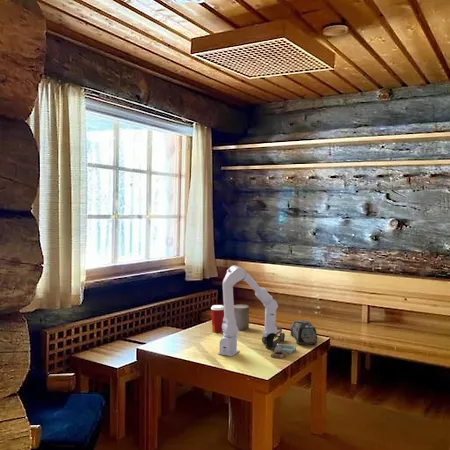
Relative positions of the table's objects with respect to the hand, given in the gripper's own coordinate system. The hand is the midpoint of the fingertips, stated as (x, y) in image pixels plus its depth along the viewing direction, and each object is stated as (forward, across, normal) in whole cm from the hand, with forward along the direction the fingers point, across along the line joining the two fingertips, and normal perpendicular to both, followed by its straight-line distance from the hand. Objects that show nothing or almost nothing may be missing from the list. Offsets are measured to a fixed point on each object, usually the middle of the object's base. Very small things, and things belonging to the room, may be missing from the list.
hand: (269, 347), depth 258 cm
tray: (+1, +2, -8) cm, 8 cm away
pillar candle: (+1, +30, +31) cm, 43 cm away
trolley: (+1, +14, +3) cm, 15 cm away
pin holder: (+1, -8, -8) cm, 11 cm away
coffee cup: (+2, +17, +40) cm, 43 cm away
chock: (+1, +4, 0) cm, 5 cm away
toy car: (+1, +26, -10) cm, 28 cm away
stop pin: (+1, -8, -8) cm, 11 cm away
